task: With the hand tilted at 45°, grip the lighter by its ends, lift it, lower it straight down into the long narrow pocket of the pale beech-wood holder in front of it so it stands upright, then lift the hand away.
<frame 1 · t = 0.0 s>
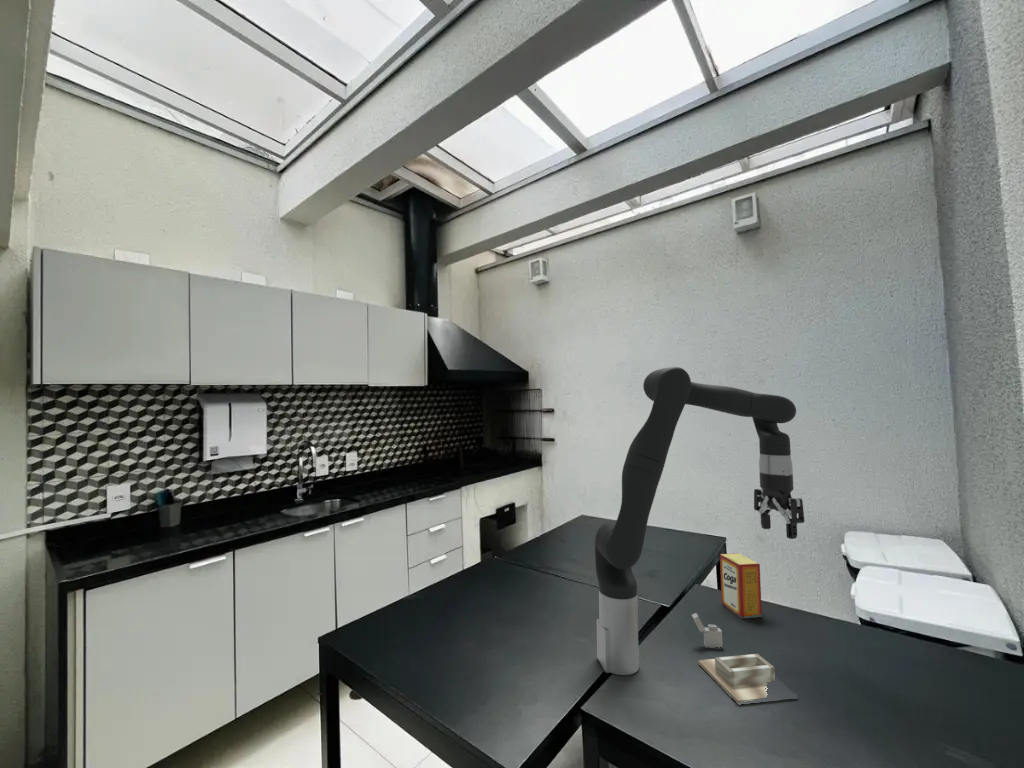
hand: (778, 533, 108), 29 cm above the table, tool pointing down, fingers open, 8 cm apart
baking soda box: (741, 611, 126), on the table
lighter: (707, 646, 107), on the table
holder: (744, 680, 93), on the table
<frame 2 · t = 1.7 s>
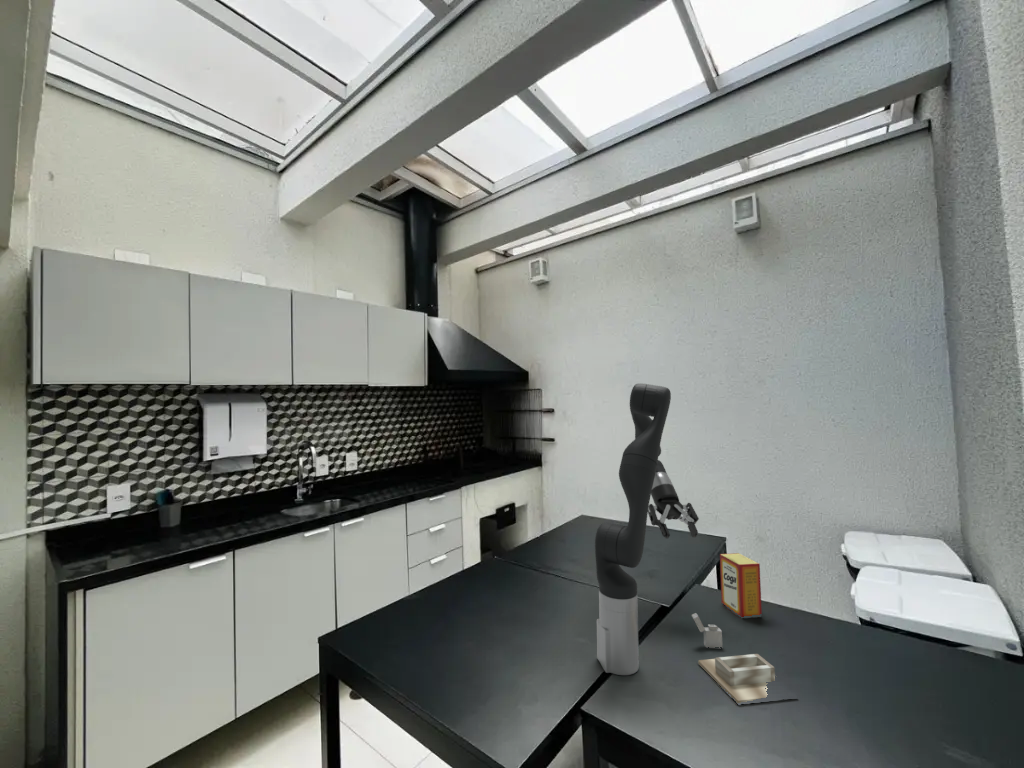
hand: (681, 536, 120), 25 cm above the table, tool tilted 45°, fingers open, 8 cm apart
nothing on the table moved.
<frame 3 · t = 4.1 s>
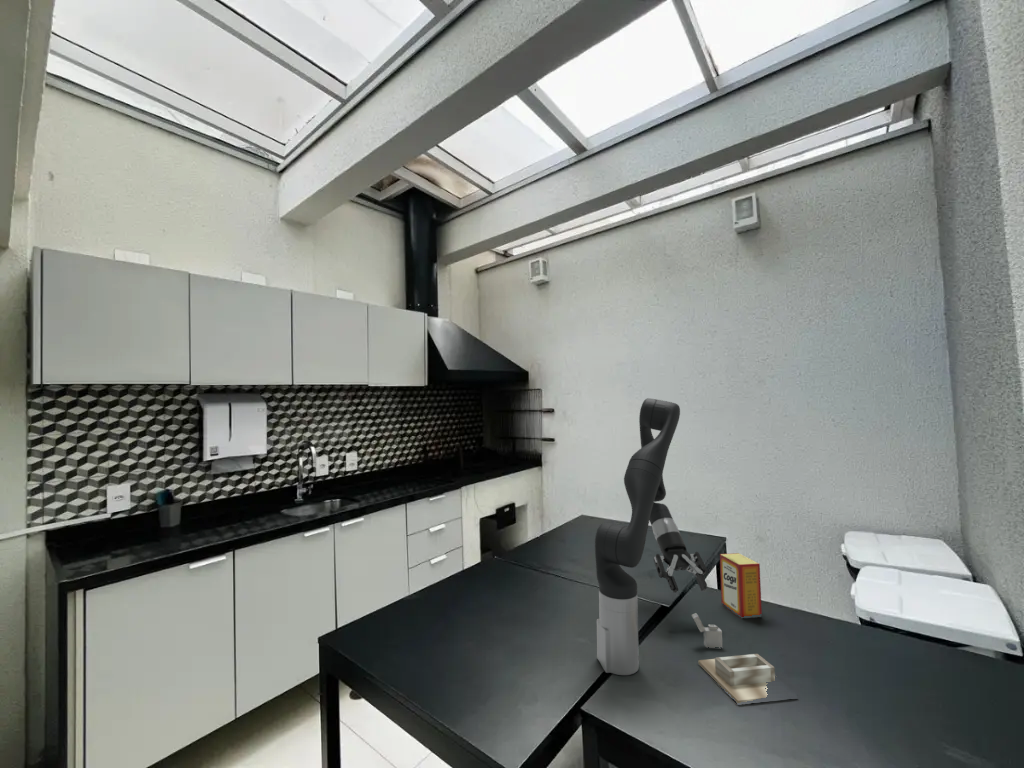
hand: (690, 590, 115), 11 cm above the table, tool tilted 45°, fingers open, 8 cm apart
nothing on the table moved.
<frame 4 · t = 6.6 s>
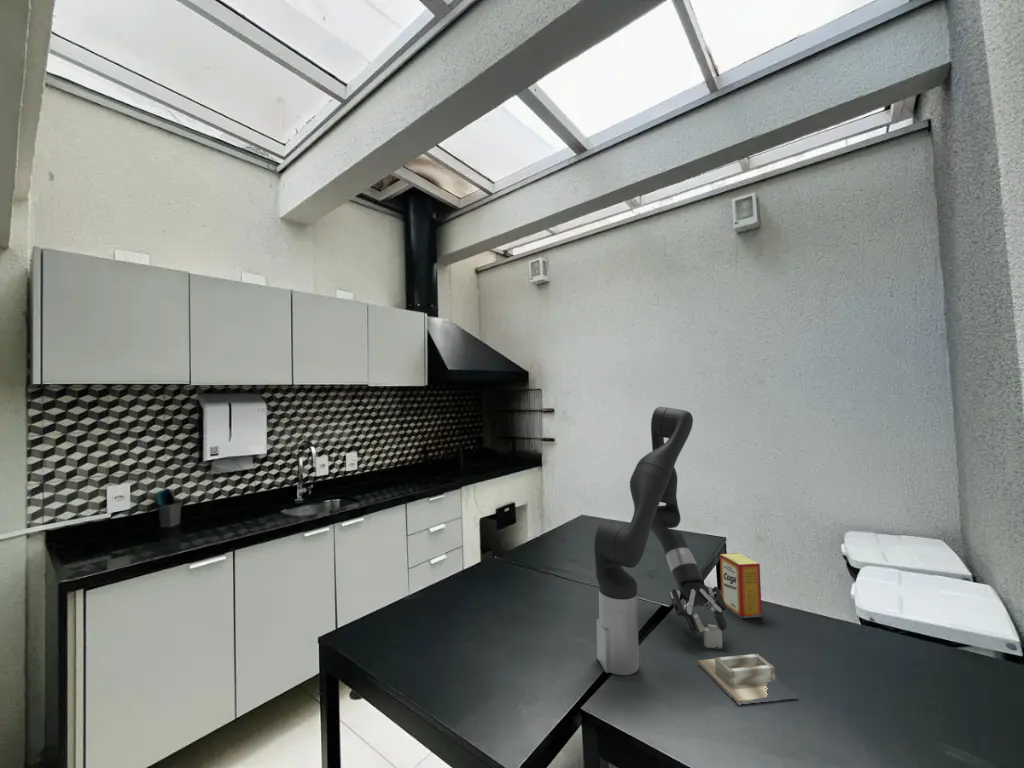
hand: (710, 630, 106), 5 cm above the table, tool tilted 45°, fingers closed on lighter, 7 cm apart
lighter: (707, 646, 107), on the table, touching gripper
everything else where it was.
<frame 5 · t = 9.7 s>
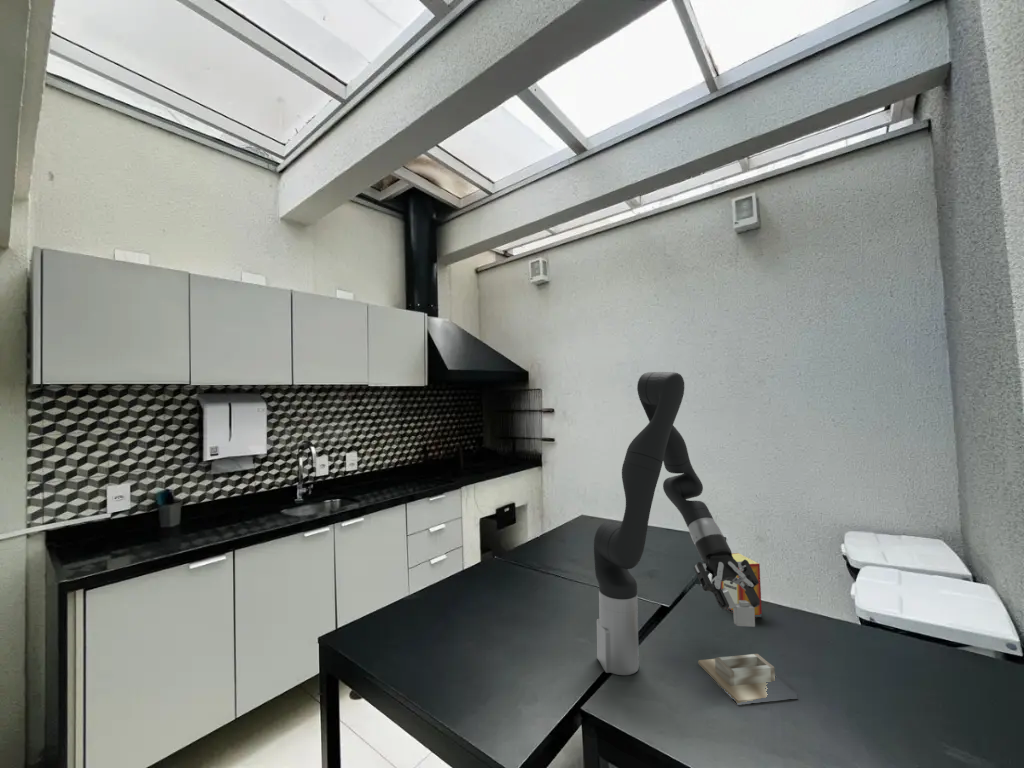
hand: (741, 607, 94), 16 cm above the table, tool tilted 45°, fingers closed on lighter, 7 cm apart
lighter: (737, 625, 95), point 11 cm above the table, touching gripper
everything else where it was.
when the fingers open (6 cm above the table, at t = 13.0 s): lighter stays where it is, resting on holder.
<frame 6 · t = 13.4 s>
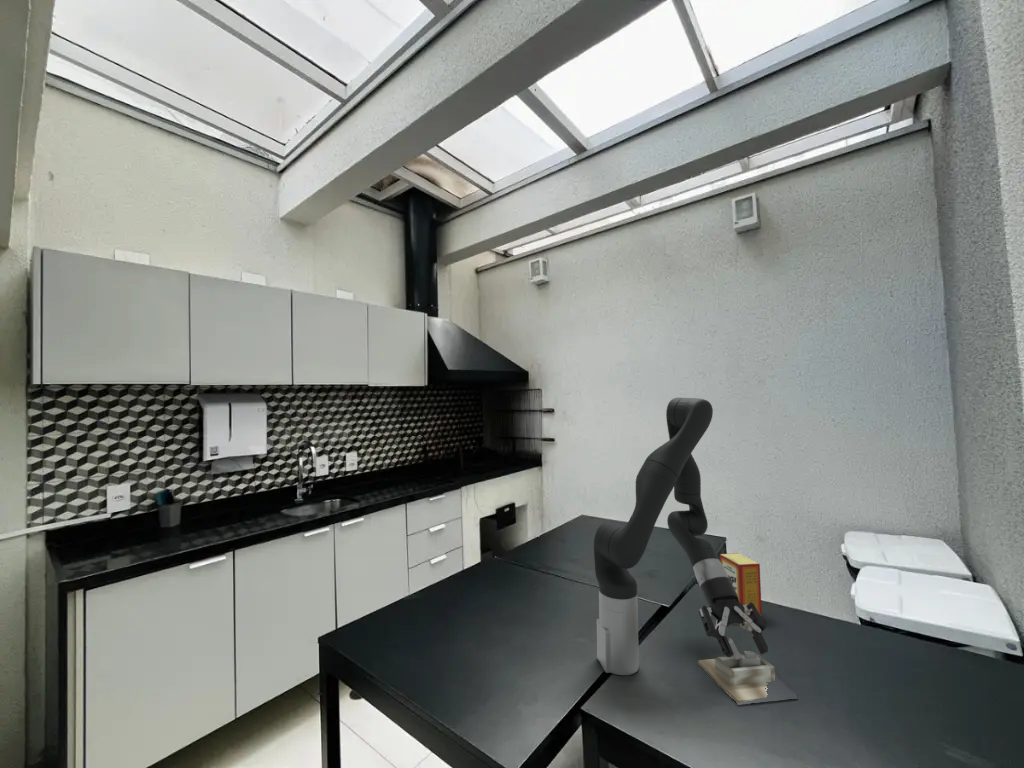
hand: (747, 654, 92), 6 cm above the table, tool tilted 45°, fingers open, 8 cm apart
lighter: (743, 676, 93), point 1 cm above the table, touching holder
everything else where it was.
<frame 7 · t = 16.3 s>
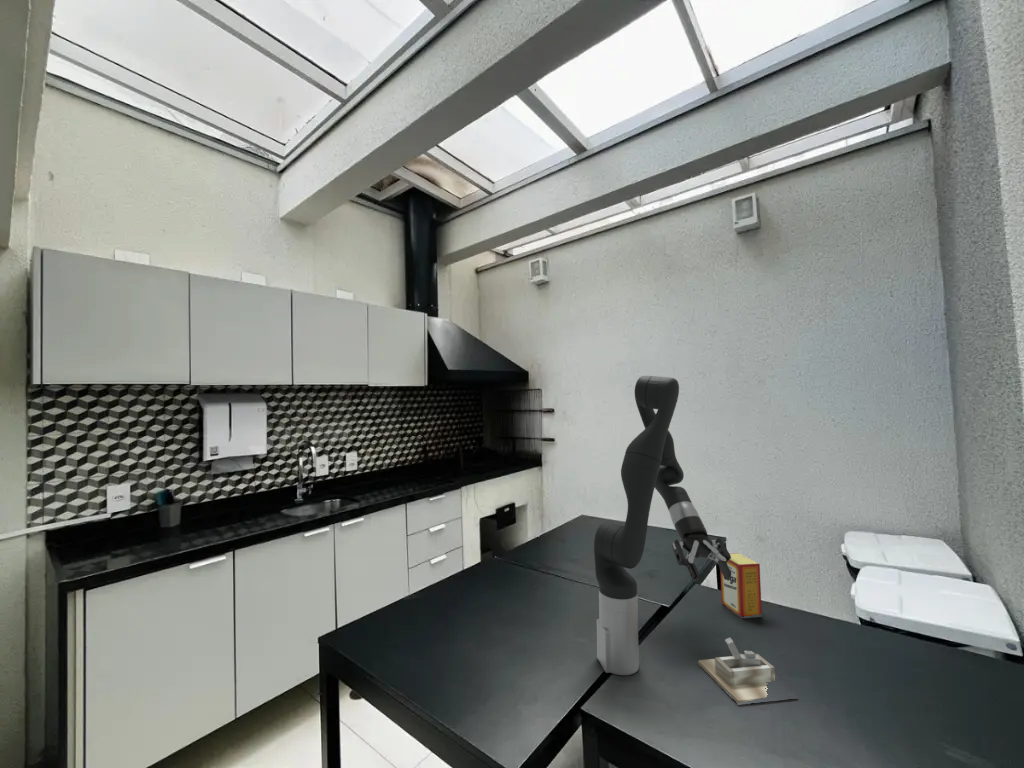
hand: (713, 579, 105), 18 cm above the table, tool tilted 45°, fingers open, 8 cm apart
nothing on the table moved.
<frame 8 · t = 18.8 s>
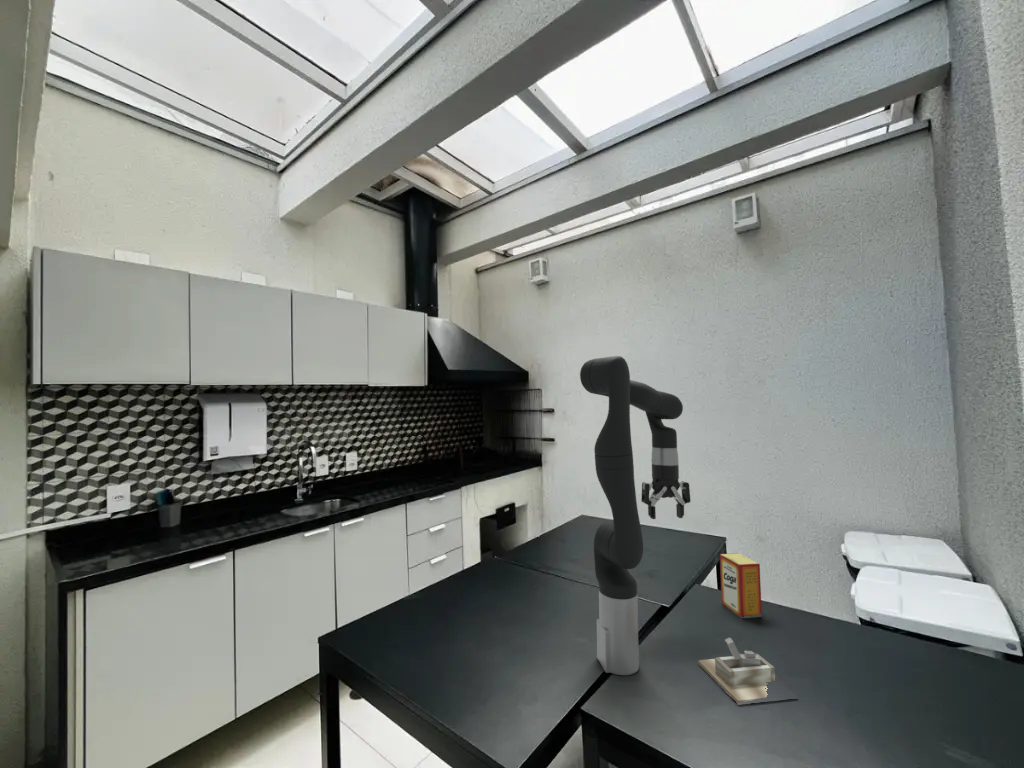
hand: (666, 518, 120), 30 cm above the table, tool pointing down, fingers open, 8 cm apart
nothing on the table moved.
at the end: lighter 0.3 cm off-centre on the holder, point 0.8 cm above the holder's base; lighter tilted 0°; the gripper is holding nothing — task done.
